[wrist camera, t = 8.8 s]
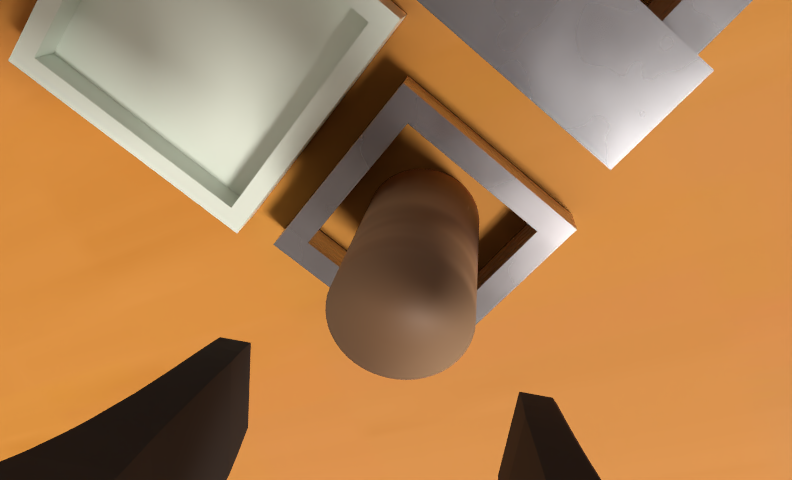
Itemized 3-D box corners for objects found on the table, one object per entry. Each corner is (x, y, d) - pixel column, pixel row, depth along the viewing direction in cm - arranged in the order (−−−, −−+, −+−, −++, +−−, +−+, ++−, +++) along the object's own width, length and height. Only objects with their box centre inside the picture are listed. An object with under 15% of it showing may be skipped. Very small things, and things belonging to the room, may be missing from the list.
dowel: (502, 217, 20) (508, 313, 15) (429, 291, 22) (410, 404, 16) (415, 145, 20) (387, 217, 14) (346, 226, 21) (296, 320, 16)
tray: (407, 14, 18) (400, 19, 17) (253, 215, 21) (237, 233, 20) (166, -195, 17) (138, -208, 15) (40, 53, 20) (8, 60, 19)
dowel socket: (572, 214, 20) (576, 229, 19) (435, 345, 22) (432, 365, 21) (408, 75, 19) (403, 83, 18) (284, 229, 21) (273, 244, 20)
